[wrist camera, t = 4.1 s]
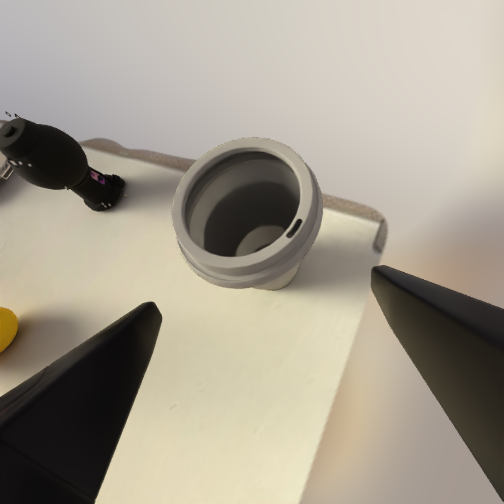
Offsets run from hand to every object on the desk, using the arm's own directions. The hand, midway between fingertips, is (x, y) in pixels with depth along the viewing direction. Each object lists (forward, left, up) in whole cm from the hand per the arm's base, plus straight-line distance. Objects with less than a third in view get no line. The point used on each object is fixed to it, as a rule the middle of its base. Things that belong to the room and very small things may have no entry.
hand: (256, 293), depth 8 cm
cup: (+3, -3, -11) cm, 11 cm away
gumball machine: (+25, +2, -11) cm, 27 cm away
